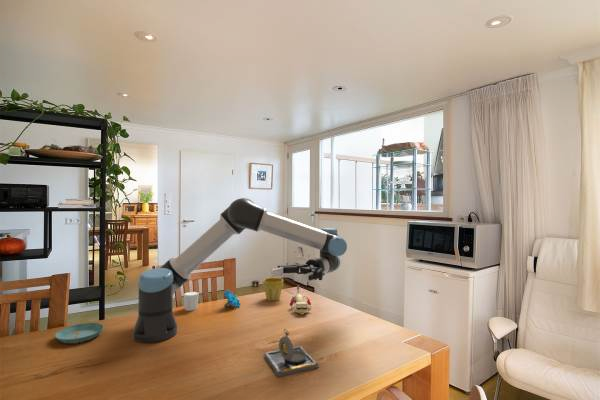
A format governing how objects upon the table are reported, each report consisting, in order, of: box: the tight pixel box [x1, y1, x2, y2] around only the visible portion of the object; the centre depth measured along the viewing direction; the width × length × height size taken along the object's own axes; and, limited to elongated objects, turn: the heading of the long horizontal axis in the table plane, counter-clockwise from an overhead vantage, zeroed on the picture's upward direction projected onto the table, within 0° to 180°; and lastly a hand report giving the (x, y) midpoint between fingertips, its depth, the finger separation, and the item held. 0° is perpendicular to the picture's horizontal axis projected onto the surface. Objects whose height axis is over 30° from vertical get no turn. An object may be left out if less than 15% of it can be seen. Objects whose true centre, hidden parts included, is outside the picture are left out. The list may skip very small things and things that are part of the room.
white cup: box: [183, 291, 200, 312], centre depth 150 cm, size 7×7×7 cm
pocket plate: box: [263, 345, 319, 378], centre depth 102 cm, size 13×13×1 cm
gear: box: [223, 289, 241, 308], centre depth 154 cm, size 11×6×10 cm
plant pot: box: [262, 277, 284, 302], centre depth 166 cm, size 10×10×10 cm
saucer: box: [54, 322, 105, 344], centre depth 118 cm, size 15×15×3 cm
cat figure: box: [289, 284, 313, 315], centre depth 155 cm, size 10×9×25 cm
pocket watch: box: [278, 328, 306, 362], centre depth 101 cm, size 8×8×10 cm
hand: (286, 276), depth 118 cm, fingers open, 13 cm apart
